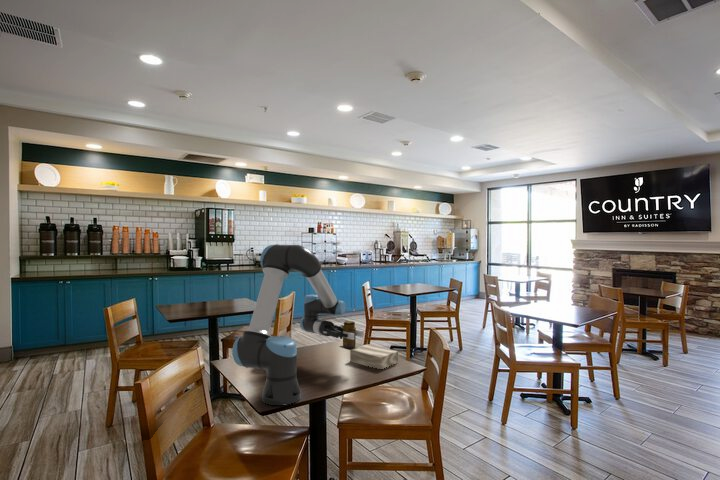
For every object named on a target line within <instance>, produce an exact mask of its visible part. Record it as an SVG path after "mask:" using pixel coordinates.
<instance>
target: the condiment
mask: <svg viewBox="0 0 720 480" xmlns="http://www.w3.org/2000/svg"><path fill="white" fill-rule="evenodd" d="M355 325H356V324H355V321H354V320H346V321H344V322H343V326H344V327H343V332H349V333H353V334H354V340H352V339H347V338H343V337H342V345H339V348H341V349H345V350H347V351H350V350H354V349H358V348H361V347H360V346H357V345H356V344H357V343H356V339H357V338H356V337H357V336H356V330H357V328H356V326H355Z"/></svg>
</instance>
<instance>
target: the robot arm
mask: <svg viewBox="0 0 720 480" xmlns="http://www.w3.org/2000/svg"><path fill="white" fill-rule="evenodd" d="M259 261H260V262H259V263H260V267H261V268H262V272H263V274H264V276H263V278H262V282H261V285H260V289H259V292H258V297H257V299H256V302H255V307H254V310H253V313H252V316H251V320H250V323H249V327H248V328H246V329H245V330H243V333H242V336H239V337H237V339H235V341H234V342H233V345H232V349H231V350H232V351H231V352H232V353H231V354H232V358H233V360H234V363H235V364H236V365H237V366H239V367H244V368H246V369H249V368H250V369H255V370H261V371H262V370H263V371H265V372H266V380H265V383H264V386H263V389H262V393H261V402H262V401H263V402H264V403H263V402H262V403H263V404H265V403H266V404H265V405H267V404H269V405H268V406H270V405H283V404H290V405H292V404H291V403H293V404H295V403H297V402H299V401H300V400H301V398H302V392H301V391H302V390H301V388H300V384H299V381H298V377H297V373H298V372H297V368H298V367H297V364H298V363H297V362H298V360H297V359H298V358H297V357H298V356H297V355H298V350H297V343H296V341H295V340H294V338H293V339H292V338H291V337H288V336H283V335H280V336H279V335H273V336H272V335H271V333H270V330H271V327H272V323H273V320H274V316H275V314H276V313H275V312H276V310H277V309H276V308H277V305H278V302H279V298H280V294H281V290H282V288H283V283H284V280H285V279H287V278H288V277H289V274H290V272H298V273H300V274H301V275H302V276H303V277H304V278H306V279H307V280H308V282H309V284H310V286H311V287H312V289H313V290H314V293H315V294H306V295H305V296H304V300H303V301H304V302H303V304H304V305H303V312H304V314H303V315H304V316H302V318H300V321H299V328H300V329H301V330H302V331H305V333H311V334H316V335H319V336H323V337H324V336H325V337H332V338H335V339H340V340H343V338H347V339H352V340H354V334H353V333H349V332H343V327H344V324H341V325H337V324H335V323H333V322H332V321H330V320H326V319H319V316H320V315H326V316H327V315H329V316H343V315H344V314H345V311H346V303H345V301H344V300H341V299H340V300H339V299H338V298H337V297H336V295H335V293H334V291H333V289H332V287H331V285H330V283H329V282H328V280H327V278H326V276H325V274H324V272H323V270H322V264H321V262H320V260H319V259H318V257H317V256H316V255H315V254H314V253H313V252H312V251H311V250H310V249H308V248H306V247H304V246H303V245H299V244H277V243H275V244H269V245H268V246H266V247H265V248H264V249H263V250H262V251H261V253H260V257H259ZM364 333H365V331H364V330H361V329H356V337H360V338H364V337H365V334H364ZM298 400H299V401H298ZM294 402H295V403H294Z"/></svg>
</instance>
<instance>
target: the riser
mask: <svg viewBox="0 0 720 480" xmlns="http://www.w3.org/2000/svg"><path fill="white" fill-rule="evenodd" d="M359 347H361V348H358V349H354V350H349V355H350V357H349V358H350V361H349V362H350V363H355V364H359V365H361V366H362V365H363V366H366V367H368V366H369V368H372V367H373V369H375V368H377V369H376V370H379V369H383V370H385V369H387V368H390V367H392V366H394V365H393V364H395V365H397V364H399V351H398V350H395V349H391V348H386V347H382V346H379V345H373V344H370V343H366V344H364V345H361V346H359ZM396 363H397V364H396ZM391 365H392V366H391ZM389 366H390V367H389ZM386 367H387V368H386ZM384 368H385V369H384Z"/></svg>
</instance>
